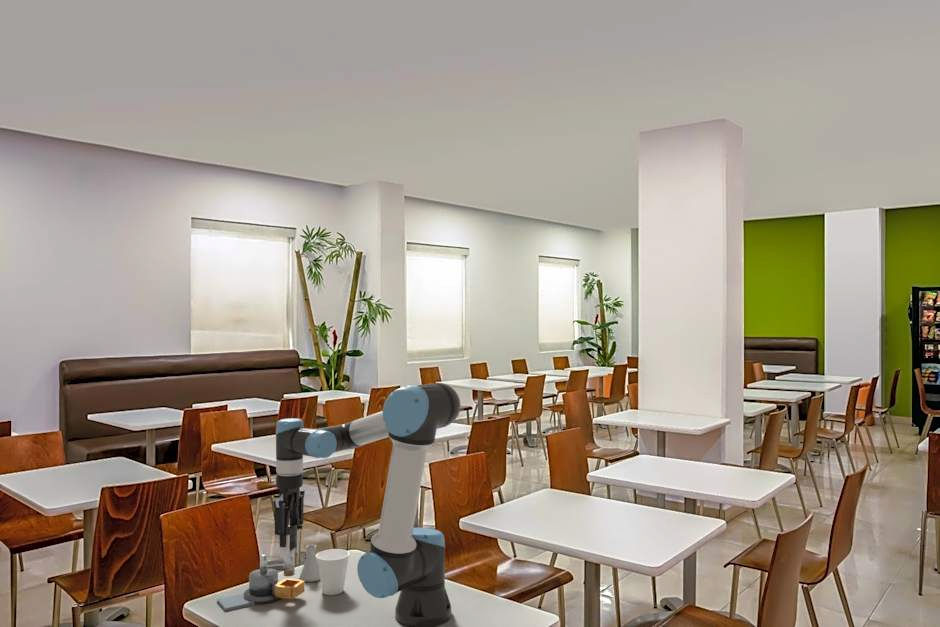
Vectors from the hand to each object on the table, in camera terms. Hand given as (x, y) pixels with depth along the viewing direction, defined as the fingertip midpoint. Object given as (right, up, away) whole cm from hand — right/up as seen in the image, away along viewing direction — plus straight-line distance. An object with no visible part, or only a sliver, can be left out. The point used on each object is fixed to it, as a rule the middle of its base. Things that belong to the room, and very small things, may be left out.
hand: (289, 554), depth 202 cm
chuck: (-4, -11, +1) cm, 12 cm away
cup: (+11, -13, +6) cm, 18 cm away
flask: (+3, -13, +17) cm, 22 cm away
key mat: (-15, -13, -2) cm, 20 cm away
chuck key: (0, -6, 0) cm, 6 cm away
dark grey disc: (-8, -13, +2) cm, 15 cm away
